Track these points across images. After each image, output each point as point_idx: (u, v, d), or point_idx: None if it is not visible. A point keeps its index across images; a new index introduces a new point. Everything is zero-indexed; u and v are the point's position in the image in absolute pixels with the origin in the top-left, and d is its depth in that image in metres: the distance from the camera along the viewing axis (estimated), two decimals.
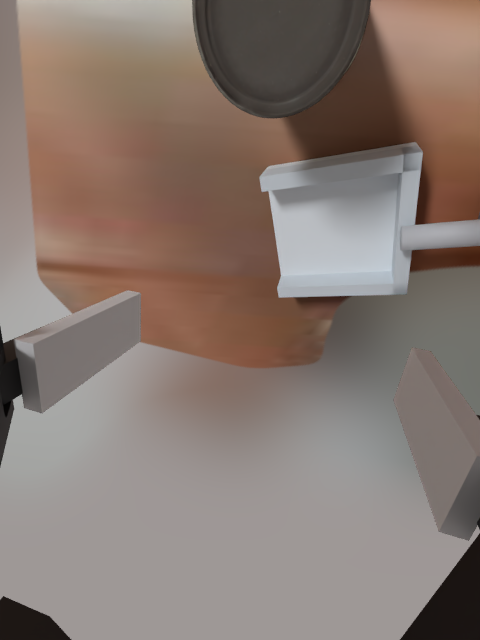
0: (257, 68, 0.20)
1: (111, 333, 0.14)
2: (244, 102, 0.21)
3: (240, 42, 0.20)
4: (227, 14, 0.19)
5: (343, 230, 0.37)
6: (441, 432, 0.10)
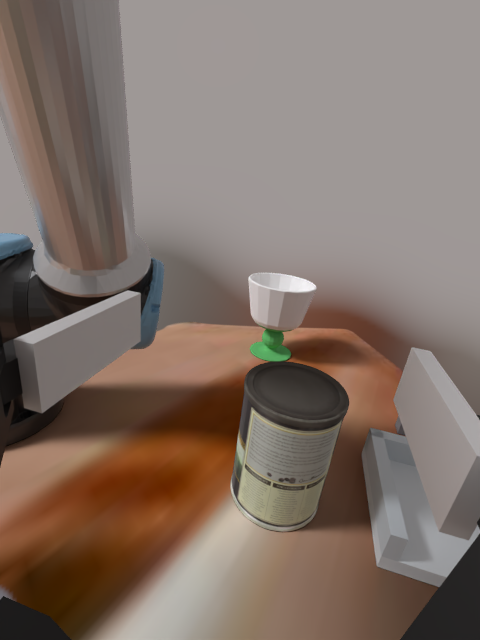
0: (317, 402, 0.30)
1: (111, 333, 0.14)
2: (335, 412, 0.29)
3: (301, 403, 0.30)
4: (286, 402, 0.29)
5: None
6: (441, 432, 0.10)
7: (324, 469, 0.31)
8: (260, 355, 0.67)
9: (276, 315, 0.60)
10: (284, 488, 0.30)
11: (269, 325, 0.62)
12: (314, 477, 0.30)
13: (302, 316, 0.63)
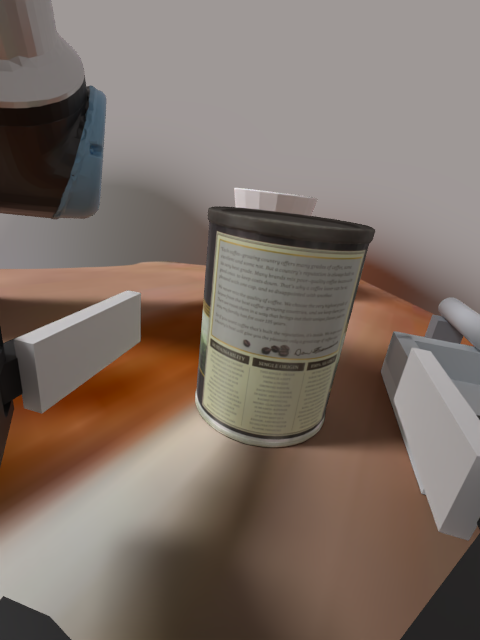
0: (324, 225, 0.19)
1: (111, 333, 0.14)
2: (355, 228, 0.17)
3: (298, 222, 0.18)
4: (272, 219, 0.18)
5: None
6: (441, 432, 0.10)
7: (335, 341, 0.20)
8: None
9: None
10: (270, 367, 0.19)
11: None
12: (319, 349, 0.19)
13: None
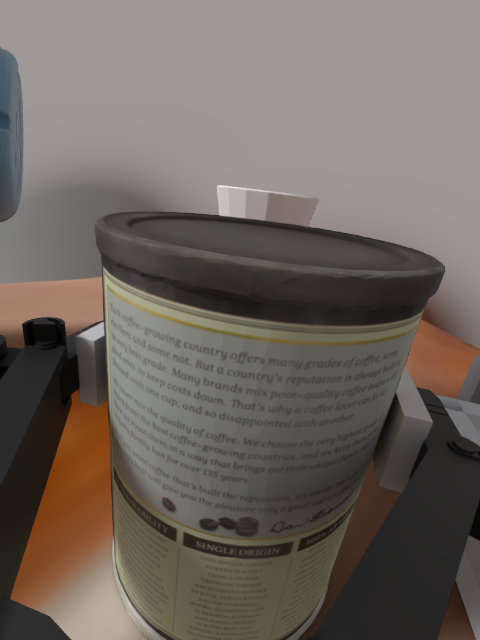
0: (336, 253, 0.09)
1: None
2: (410, 266, 0.07)
3: (280, 249, 0.08)
4: (222, 243, 0.08)
5: None
6: None
7: (356, 485, 0.10)
8: None
9: None
10: (220, 553, 0.09)
11: None
12: (324, 512, 0.09)
13: None
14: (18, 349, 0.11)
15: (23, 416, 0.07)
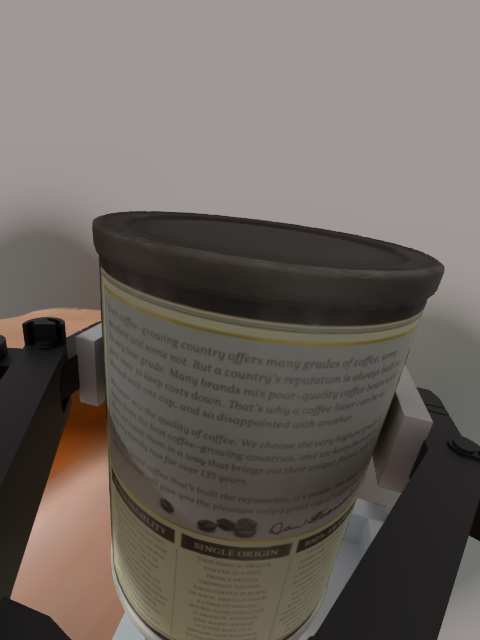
0: (335, 253, 0.09)
1: None
2: (410, 266, 0.07)
3: (278, 249, 0.08)
4: (220, 243, 0.08)
5: None
6: None
7: (355, 486, 0.10)
8: None
9: None
10: (218, 554, 0.09)
11: None
12: (322, 513, 0.09)
13: None
14: (18, 349, 0.11)
15: (23, 417, 0.07)
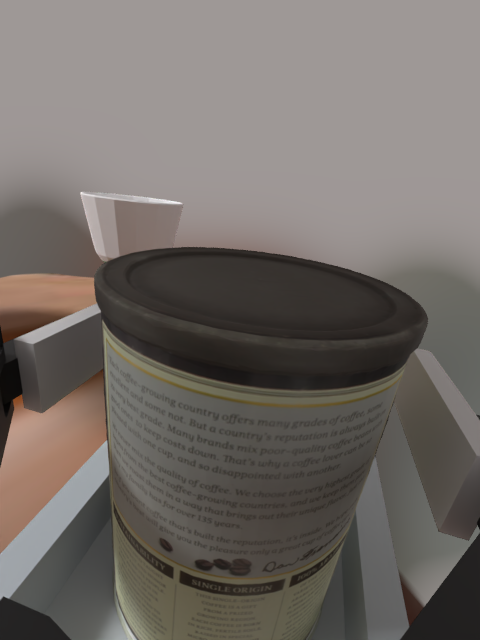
0: (325, 305, 0.09)
1: None
2: (393, 326, 0.08)
3: (270, 304, 0.09)
4: (215, 299, 0.08)
5: None
6: (441, 432, 0.10)
7: (345, 522, 0.10)
8: None
9: (114, 241, 0.41)
10: (215, 590, 0.09)
11: (109, 258, 0.43)
12: (314, 550, 0.09)
13: (160, 246, 0.44)
14: None
15: None
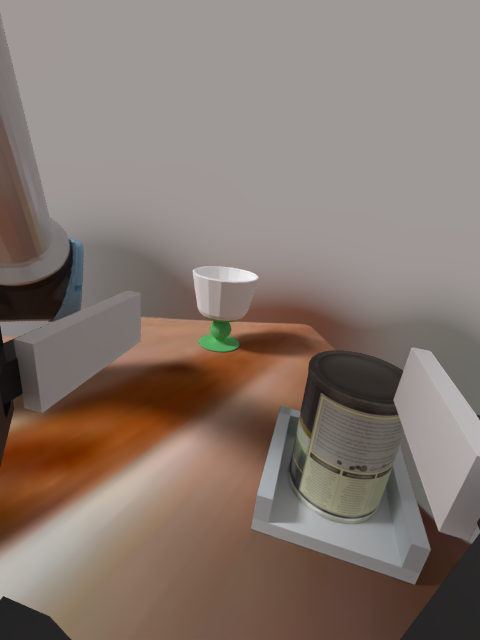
0: (388, 387, 0.30)
1: (111, 333, 0.14)
2: None
3: (372, 388, 0.29)
4: (357, 387, 0.29)
5: None
6: (441, 432, 0.10)
7: (394, 458, 0.30)
8: (207, 345, 0.69)
9: (217, 305, 0.62)
10: (354, 477, 0.29)
11: (211, 315, 0.64)
12: (385, 465, 0.30)
13: (244, 307, 0.65)
14: None
15: None
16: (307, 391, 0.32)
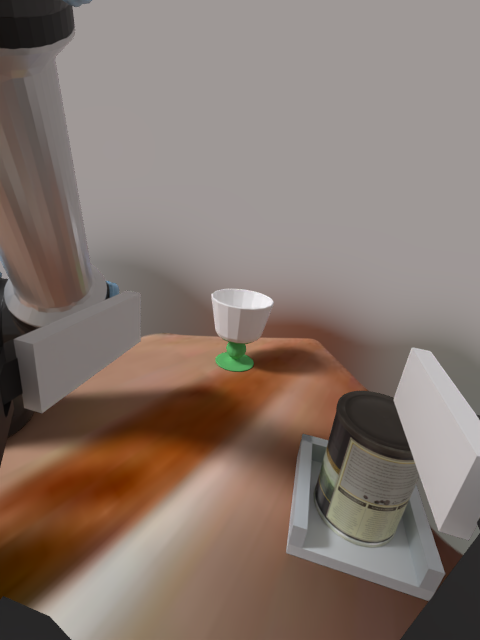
0: None
1: (111, 333, 0.14)
2: None
3: (395, 434, 0.33)
4: (382, 433, 0.33)
5: None
6: (441, 432, 0.10)
7: (412, 491, 0.35)
8: (224, 365, 0.73)
9: (235, 330, 0.66)
10: (378, 509, 0.34)
11: (229, 338, 0.68)
12: (404, 499, 0.34)
13: (260, 330, 0.69)
14: None
15: None
16: (336, 432, 0.36)
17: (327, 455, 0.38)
